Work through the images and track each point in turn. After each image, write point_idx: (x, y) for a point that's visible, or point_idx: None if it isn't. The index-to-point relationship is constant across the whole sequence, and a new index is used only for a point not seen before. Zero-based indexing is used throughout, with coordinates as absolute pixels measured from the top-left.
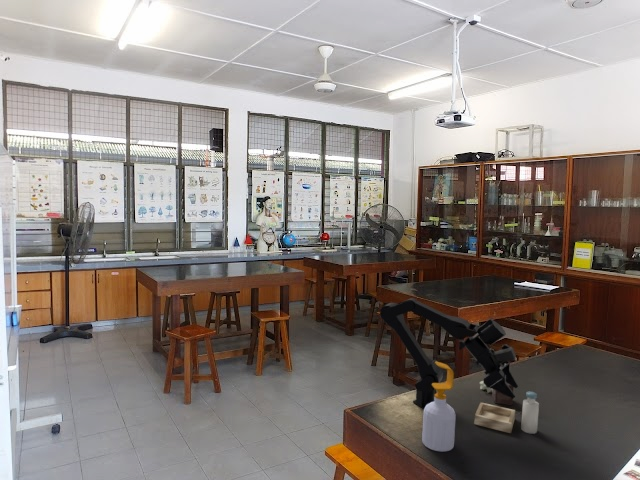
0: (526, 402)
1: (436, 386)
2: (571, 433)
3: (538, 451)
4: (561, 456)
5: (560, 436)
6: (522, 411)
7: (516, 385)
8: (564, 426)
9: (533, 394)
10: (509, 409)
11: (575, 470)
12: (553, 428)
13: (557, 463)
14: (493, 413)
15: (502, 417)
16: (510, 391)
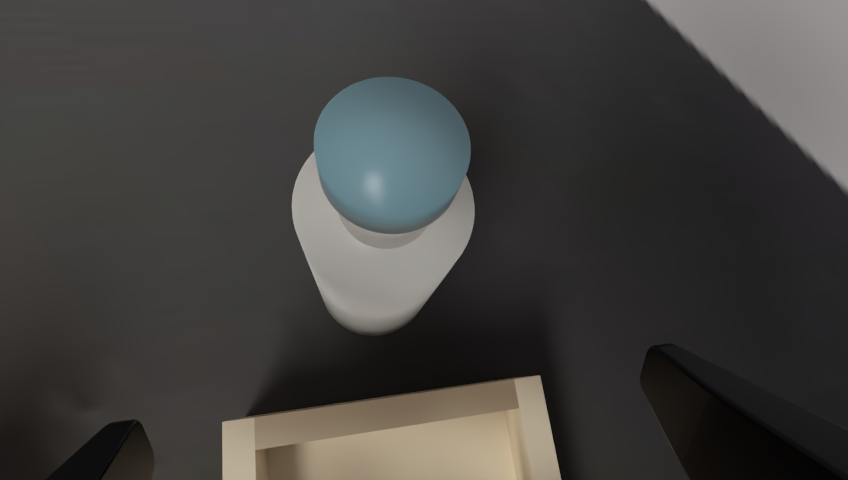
0: (416, 248)
1: None
2: (252, 61)
3: (613, 191)
4: (574, 91)
5: None
6: (411, 308)
7: (128, 454)
8: (165, 98)
9: (414, 116)
10: (237, 478)
11: (653, 37)
12: (243, 152)
13: (656, 102)
14: None
15: None
16: (808, 420)
